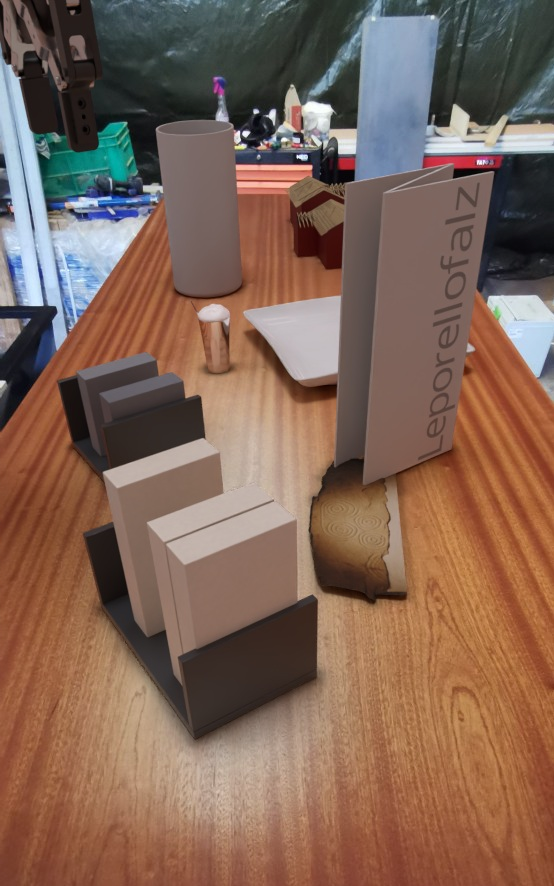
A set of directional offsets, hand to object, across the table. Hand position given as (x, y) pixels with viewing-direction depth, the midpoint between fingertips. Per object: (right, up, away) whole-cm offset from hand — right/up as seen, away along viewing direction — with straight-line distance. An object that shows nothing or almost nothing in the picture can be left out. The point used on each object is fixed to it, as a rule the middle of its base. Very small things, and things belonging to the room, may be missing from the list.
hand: (64, 141), depth 57 cm
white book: (+8, -37, +11) cm, 39 cm away
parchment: (+25, -28, +22) cm, 43 cm away
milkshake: (+7, -2, +52) cm, 53 cm away
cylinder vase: (+4, +22, +78) cm, 81 cm away
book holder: (+10, -39, +10) cm, 42 cm away
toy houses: (+30, +36, +92) cm, 103 cm away
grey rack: (-1, -18, +34) cm, 39 cm away
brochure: (+31, -19, +32) cm, 48 cm away
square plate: (+28, +2, +56) cm, 62 cm away
